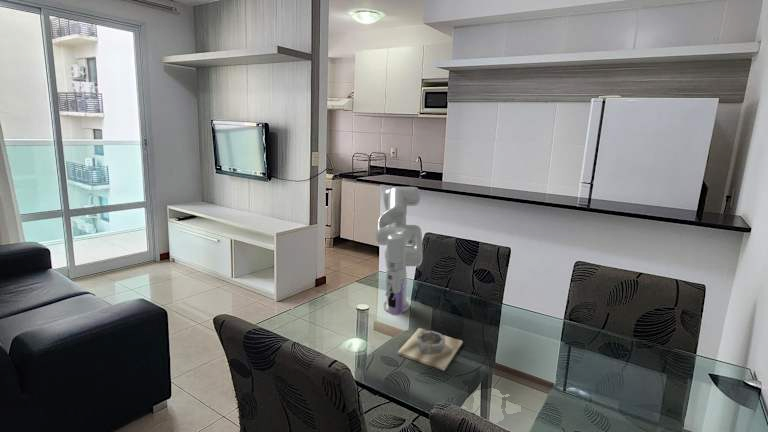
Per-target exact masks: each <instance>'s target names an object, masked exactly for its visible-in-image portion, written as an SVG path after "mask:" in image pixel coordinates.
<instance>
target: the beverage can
mask: <svg viewBox="0 0 768 432" xmlns="http://www.w3.org/2000/svg"><path fill="white" fill-rule="evenodd" d="M391 291H392V289H391ZM390 295H392V296H393V293H391V294H390ZM395 299H396V307H395V308H393V307H390V306H389V312H388V313H389V314H390V315H391V316H401V315H402V312H403V283H401V291H400V292H399V293H397V294H395ZM403 313H404V312H403Z"/></svg>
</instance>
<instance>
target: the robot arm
mask: <svg viewBox="0 0 768 432" xmlns="http://www.w3.org/2000/svg"><path fill="white" fill-rule="evenodd" d="M383 202H384V203H383V204H384V207H385V211H384V212H383V213H382V214H381V215H380V216H379V218H378V219H377V222H376V227H375V241H376V244H378V245H380V246H386V248H385V250H384V260H385V267H386V269H385V270H386V277H385V287H386V288H385V291H386V292H385V297H386V301H384V302H383V309H384V310H385V311H386V312H388V313H389V306H390V307H393V308H395V307H396V299H395V294H397V293H399V292H400V291H401V283H403V312H402V313H405V312H408V311H409V309H410V304H409V302H408V301H407V290H408V289H407V288H408V287H407V284H408V282H407V278H408V276H407V275H408V274H407V267H420V265H422V263H423V233H422V229H421V227H420V226H419V225H416V224H407V214H408V213H407V212H408V210H407V209H408V208H407V207H417V206H418V205H419V204H420V203H421V193H420V189H419V188H418V187H416V186H394V187H391V188H388V189H386V190H385V191H384V193H383ZM391 289H392V291H391ZM391 293H393V296H392V295H390V294H391Z"/></svg>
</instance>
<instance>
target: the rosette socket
mask: <svg viewBox="0 0 768 432" xmlns="http://www.w3.org/2000/svg"><path fill="white" fill-rule="evenodd" d="M463 341H464V340H461V339H457V338H453V337H451V336H447V335H445V334H444V335H443V334H442V333H440V332H438V331H435V330H427V329H426V328H422V327H418V328H417V330H416V331H415V332H414V333H413V334H412V335H411V336H410V338H408V339H407V340H406V342H405V343H404V344H403V345H402V346H401V347H400V348H399V350H398V351H397V355H398V356H401V357H404V358H407V359H410V360H412V361H415V362H418V363H420V364H423V365H427V366H428V367H429V366H430V367H432V368H436V369H437V370H441V371H446V369H447V368H448V366H449V364H450V363H451V361H452V360H453V358H454V357H455V356H456V355H457V352H458V351H459V350H460V348H461V347H462V345H463V343H464V342H463Z"/></svg>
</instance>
